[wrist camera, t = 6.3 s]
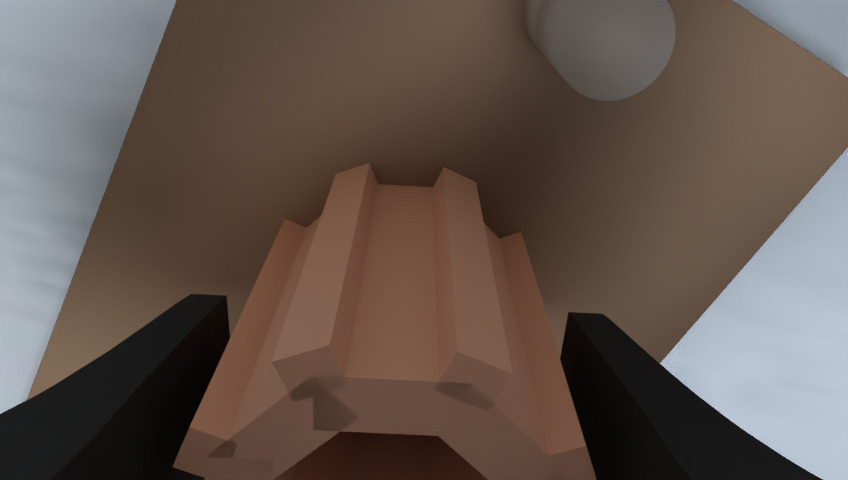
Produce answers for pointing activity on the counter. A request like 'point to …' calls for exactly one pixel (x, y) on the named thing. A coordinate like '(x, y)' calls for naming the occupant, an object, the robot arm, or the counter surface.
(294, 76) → the gear board
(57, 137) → the counter surface
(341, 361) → the gear
